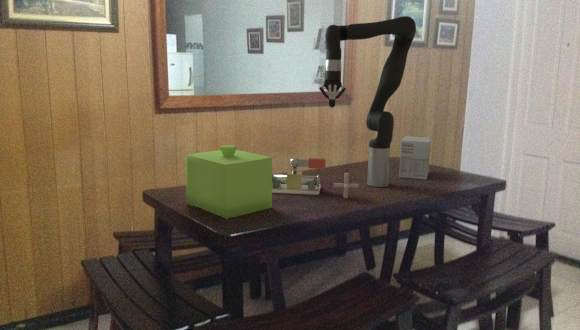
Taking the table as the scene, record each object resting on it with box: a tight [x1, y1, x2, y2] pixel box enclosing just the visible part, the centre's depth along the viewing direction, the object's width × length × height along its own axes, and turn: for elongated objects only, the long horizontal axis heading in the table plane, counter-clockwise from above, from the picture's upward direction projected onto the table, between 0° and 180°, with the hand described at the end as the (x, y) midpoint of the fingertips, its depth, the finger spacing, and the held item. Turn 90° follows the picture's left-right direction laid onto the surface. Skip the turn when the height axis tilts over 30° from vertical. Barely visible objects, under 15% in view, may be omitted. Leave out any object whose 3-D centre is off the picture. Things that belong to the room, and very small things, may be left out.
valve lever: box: [289, 157, 327, 170], centre depth 213 cm, size 15×4×4 cm, turn 85°
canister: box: [184, 144, 273, 220], centre depth 189 cm, size 25×21×23 cm
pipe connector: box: [333, 172, 360, 199], centre depth 205 cm, size 10×10×10 cm
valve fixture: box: [272, 167, 322, 196], centre depth 215 cm, size 22×12×10 cm, turn 83°
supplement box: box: [398, 135, 432, 181], centre depth 247 cm, size 17×13×18 cm
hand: (331, 107), depth 237 cm, fingers closed
